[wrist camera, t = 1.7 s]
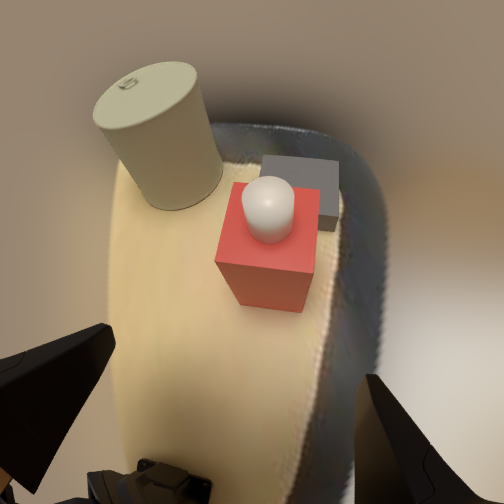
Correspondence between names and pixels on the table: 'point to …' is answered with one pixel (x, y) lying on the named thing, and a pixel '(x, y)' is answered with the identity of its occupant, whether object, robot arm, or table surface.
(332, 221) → the grey box
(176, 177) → the can
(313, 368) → the table surface
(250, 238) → the ketchup bottle
